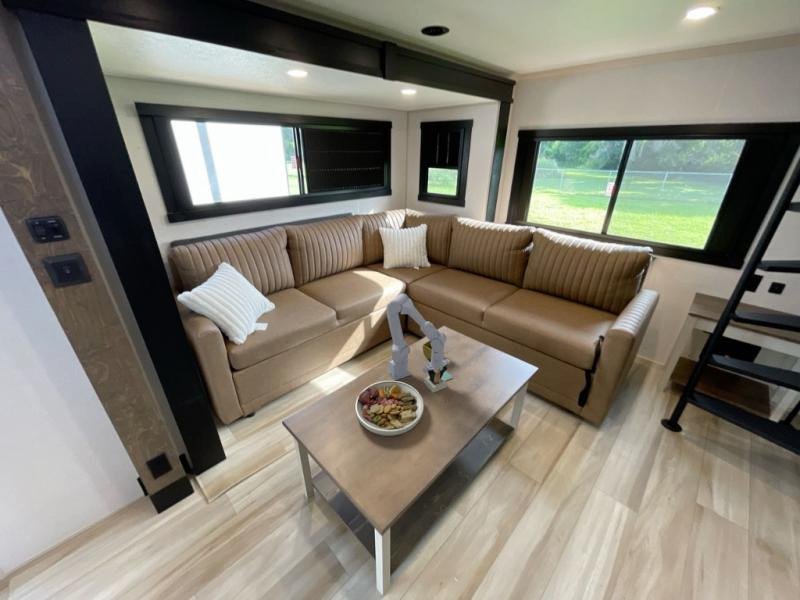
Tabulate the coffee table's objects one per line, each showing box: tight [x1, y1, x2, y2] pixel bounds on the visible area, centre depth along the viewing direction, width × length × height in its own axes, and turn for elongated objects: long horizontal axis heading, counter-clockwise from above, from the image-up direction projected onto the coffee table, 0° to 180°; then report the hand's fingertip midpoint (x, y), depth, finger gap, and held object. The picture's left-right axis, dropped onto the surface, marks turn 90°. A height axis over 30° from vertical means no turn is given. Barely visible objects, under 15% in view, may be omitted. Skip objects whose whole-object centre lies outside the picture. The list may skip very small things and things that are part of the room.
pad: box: [442, 370, 454, 382], centre depth 159 cm, size 6×6×1 cm
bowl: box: [355, 380, 425, 437], centre depth 137 cm, size 30×30×8 cm
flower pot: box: [422, 340, 432, 361], centre depth 171 cm, size 9×9×9 cm
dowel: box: [431, 370, 440, 385], centre depth 152 cm, size 4×4×8 cm
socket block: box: [423, 376, 448, 393], centre depth 153 cm, size 8×8×3 cm
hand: (435, 379), depth 152 cm, fingers closed on dowel, 4 cm apart
